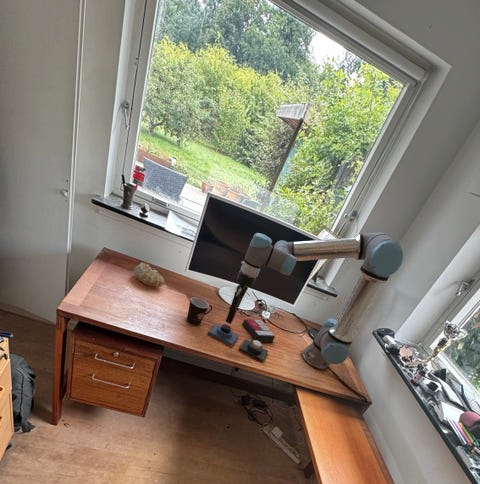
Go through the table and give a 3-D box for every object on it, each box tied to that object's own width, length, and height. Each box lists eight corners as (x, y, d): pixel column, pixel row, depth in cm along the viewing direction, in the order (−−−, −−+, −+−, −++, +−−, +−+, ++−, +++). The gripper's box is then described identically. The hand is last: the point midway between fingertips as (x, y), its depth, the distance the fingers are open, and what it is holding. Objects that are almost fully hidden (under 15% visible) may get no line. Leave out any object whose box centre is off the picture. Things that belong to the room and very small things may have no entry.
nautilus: (133, 267, 176) (161, 277, 182) (130, 284, 160) (162, 294, 166) (136, 252, 171) (166, 263, 177) (134, 268, 156) (166, 279, 162)
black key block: (266, 353, 164) (269, 347, 162) (261, 362, 157) (265, 356, 154) (244, 341, 164) (247, 335, 162) (238, 350, 156) (241, 344, 154)
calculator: (261, 319, 180) (276, 335, 171) (258, 326, 182) (272, 342, 174) (244, 317, 174) (258, 334, 165) (241, 325, 176) (255, 341, 168)
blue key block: (237, 337, 164) (240, 331, 162) (231, 346, 156) (233, 340, 154) (215, 326, 164) (217, 320, 162) (207, 334, 156) (210, 328, 154)
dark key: (230, 331, 160) (232, 327, 159) (227, 334, 157) (229, 331, 155) (222, 326, 160) (224, 323, 159) (219, 330, 156) (220, 326, 155)
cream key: (261, 346, 160) (262, 343, 159) (258, 350, 157) (260, 347, 155) (252, 342, 160) (254, 338, 159) (250, 346, 157) (252, 342, 155)
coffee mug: (185, 324, 155) (191, 305, 149) (183, 314, 161) (189, 295, 154) (209, 330, 159) (216, 311, 153) (207, 320, 165) (213, 302, 159)
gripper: (244, 265, 145) (225, 313, 160) (235, 273, 135) (216, 323, 150) (260, 274, 146) (239, 320, 160) (252, 282, 135) (231, 331, 150)
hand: (228, 322), depth 155 cm, fingers closed
